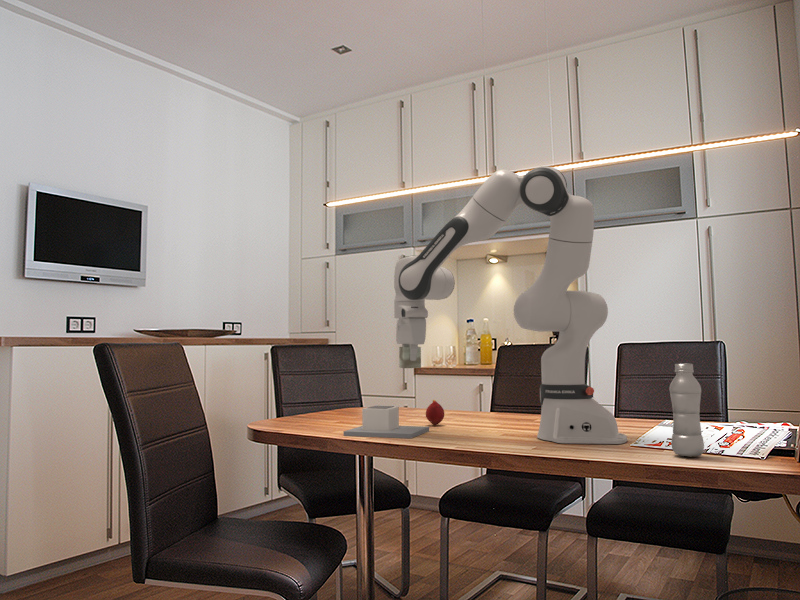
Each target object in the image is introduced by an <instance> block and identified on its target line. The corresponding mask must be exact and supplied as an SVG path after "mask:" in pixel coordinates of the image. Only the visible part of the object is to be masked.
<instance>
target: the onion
mask: <svg viewBox="0 0 800 600" xmlns="http://www.w3.org/2000/svg"><path fill="white" fill-rule="evenodd" d="M425 410H426V411H425V417H426V420H427V421H428V422H429V423H431V425H432V426H433V427H436V426H437V425H439V424H440V423H442V421H443V420H444V418H445V410H444V407H443V406H442V404H440V403H439V402H438V401H437V400H435V399H433V400H432V402H431V403H430V404H429V405H428V406H427V407H426V409H425Z"/></svg>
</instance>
